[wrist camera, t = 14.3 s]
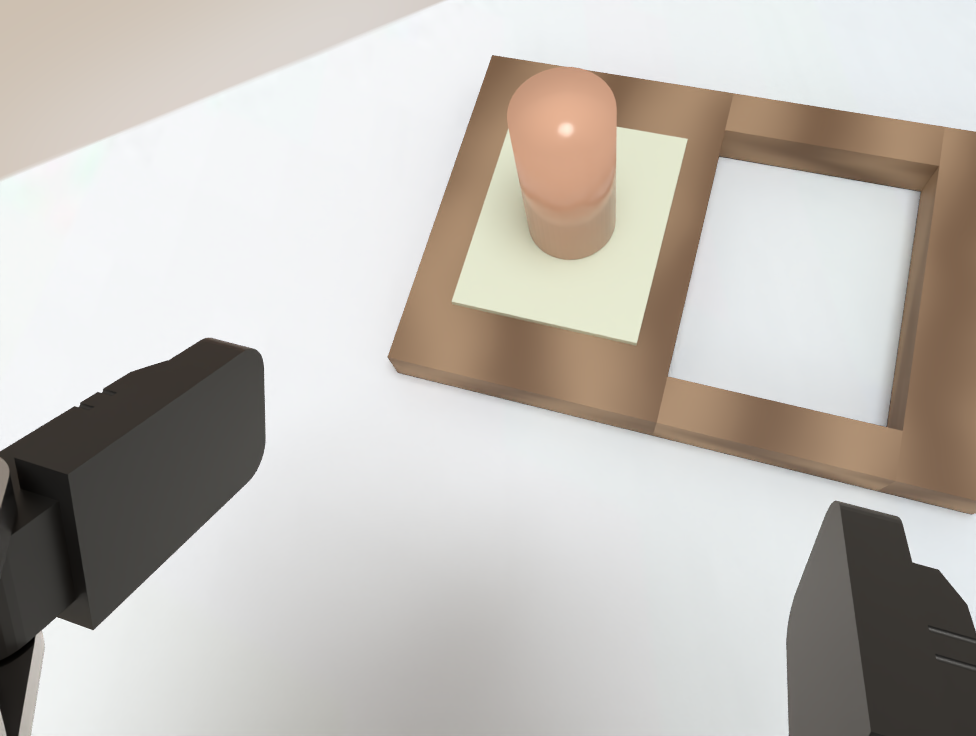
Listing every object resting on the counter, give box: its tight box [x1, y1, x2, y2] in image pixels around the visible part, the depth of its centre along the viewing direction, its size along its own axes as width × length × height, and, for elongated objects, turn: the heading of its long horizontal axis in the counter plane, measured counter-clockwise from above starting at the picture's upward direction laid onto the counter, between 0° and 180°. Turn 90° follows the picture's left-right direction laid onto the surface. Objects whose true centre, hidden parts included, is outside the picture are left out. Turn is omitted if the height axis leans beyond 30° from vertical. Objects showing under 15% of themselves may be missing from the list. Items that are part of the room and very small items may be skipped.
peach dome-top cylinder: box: [507, 67, 617, 260], centre depth 31 cm, size 4×4×8 cm
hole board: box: [388, 55, 976, 514], centre depth 35 cm, size 24×16×2 cm, turn 74°
